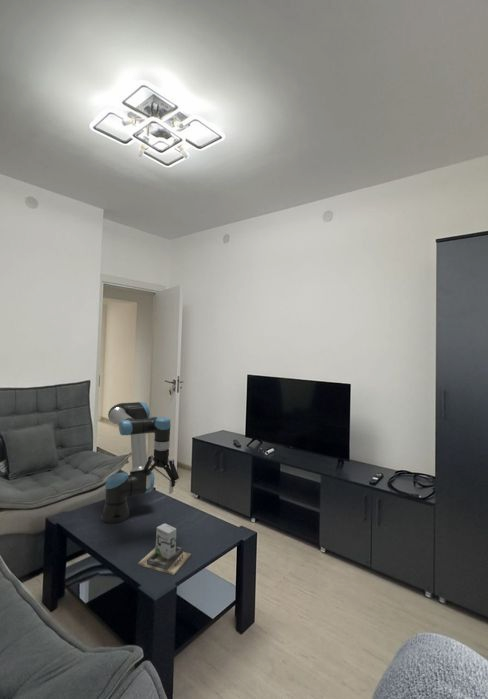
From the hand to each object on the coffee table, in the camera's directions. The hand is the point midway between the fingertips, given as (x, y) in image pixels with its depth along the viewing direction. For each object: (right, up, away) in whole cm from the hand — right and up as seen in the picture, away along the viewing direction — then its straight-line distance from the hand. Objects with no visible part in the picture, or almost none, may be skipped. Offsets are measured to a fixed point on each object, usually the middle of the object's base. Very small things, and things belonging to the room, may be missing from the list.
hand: (159, 490), depth 175 cm
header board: (+7, -24, -18) cm, 31 cm away
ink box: (+7, -22, -18) cm, 29 cm away
